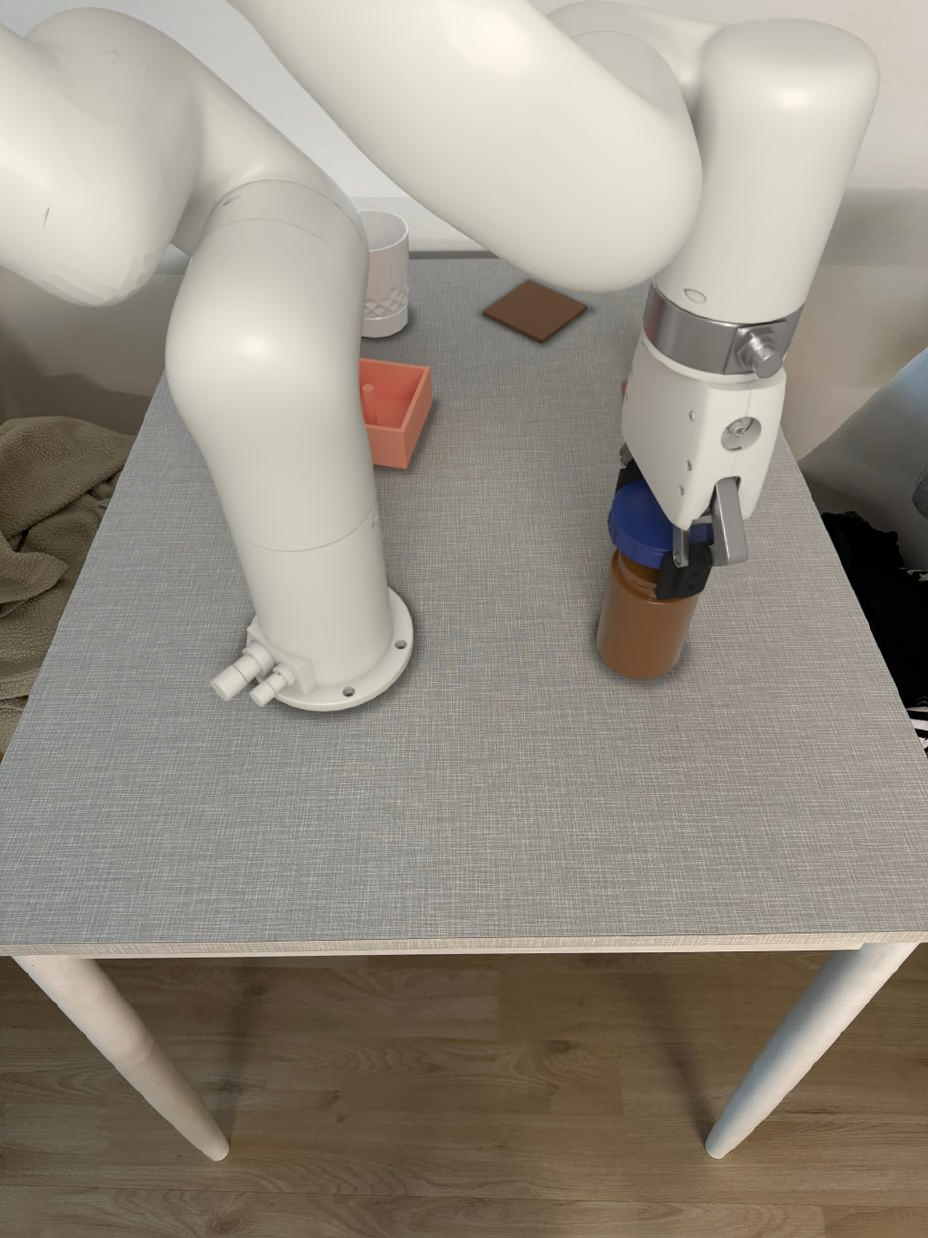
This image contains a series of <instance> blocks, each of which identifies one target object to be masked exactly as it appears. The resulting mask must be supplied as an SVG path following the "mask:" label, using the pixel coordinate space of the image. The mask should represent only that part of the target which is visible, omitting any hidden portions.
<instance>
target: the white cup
mask: <svg viewBox="0 0 928 1238" xmlns="http://www.w3.org/2000/svg"><path fill="white" fill-rule="evenodd" d="M357 211H358V213H359V215H360V217H361V219H362V222H363V224H364V227H365V230H366V234H367V238H368V243H369V255H370V259H369V278H368V285H367V292H366V299H365V306H364V321H363V328H362V335H361V337H363V338H364V337H365V338H372V339H378V338H386V337H390V336H392V335H395V334H396V333H399V332H401V331H402V330H403V329H404V327H405V326H407V324H408V321H409V298H410V237H409V236H410V235H409V232H410V231H409V230H410V228H409V225H408V223H407V221H406V220H405V219H404V218H403V217H402V216H400V215H398V214H396V213H394V212H391V211H388V210H382V209H381V210H380V209H361V210H357Z"/></svg>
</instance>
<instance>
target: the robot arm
mask: <svg viewBox="0 0 928 1238" xmlns="http://www.w3.org/2000/svg"><path fill="white" fill-rule="evenodd" d="M223 1H224V2H225V3H226V4H228V5H229V6H230V7H231V8H232V9H234V10H235V11H236V12H237V13H239V14H240V15H241V16H242V17H243V18H244V19H245V20H246V21H247V22H248V23H249V24H250V25H251V27H252V28H253V29H254V30H255V32H256V33H257V35H258V36H259V37H260V38H261V39H262V41H263V42H264V43H265V45H266V46H267V47H268V49H269V51H271V52H272V54H273V55H274V57H275V58H276V59H277V61H278V62H279V63H280V64H281V65H282V66H283V68H284V69H285V70H286V71H287V73H288V74H289V75H290V76H291V77H292V78H293V80H295V81H296V83H297V84H299V86H300V87H301V88H302V89H303V90H304V91H305V92H306V93H307V95H308V96H310V97H311V99H313V101H314V102H315V103H317V105H318V106H319V107H320V108H321V109H322V111H323V112H324V113H325V114H326V115H327V116H328V118H330V120H332V122H333V123H335V125H336V126H337V127H338V128H339V129H340V130H341V132H342V133H343V134H344V135H345V136H346V137H347V138H348V139H349V140H350V142H352V144H353V145H354V146H355V147H356V148H357V149H358V150H359V151H360V152H361V153H362V154H363V155H364V156H365V157H366V158H367V159H368V160H369V161H370V162H371V163H372V164H373V165H374V166H375V167H376V168H377V169H378V170H379V171H380V172H381V173H383V174H384V175H385V177H387V179H389V180H390V181H391V182H392V183H393V184H395V186H397V187H398V188H399V189H400V190H402V191H403V192H404V193H405V194H407V195H408V196H409V197H410V198H411V199H413V200H414V201H415V202H417V203H418V204H419V205H421V206H422V207H423V208H424V209H426V210H428V211H429V212H430V213H431V214H433V215H434V216H436V217H437V218H439V219H440V220H441V221H444V222H445V223H446V224H448V225H449V226H451V227H452V228H454V229H455V230H457V231H458V232H460V233H461V234H463V235H464V236H466V237H467V238H469V239H470V240H471V241H473V242H474V243H477V244H478V245H479V246H481V247H482V248H483V249H486V250H487V251H488V252H490V253H492V254H493V255H494V256H496V257H498V258H499V259H501V260H503V261H504V262H505V263H507V264H509V265H510V266H512V267H513V268H515V269H517V270H519V271H521V272H522V273H524V274H525V275H528V276H530V277H532V278H534V279H536V280H538V281H540V282H542V283H545V284H548V285H551V286H554V287H556V288H559V289H561V290H565V291H570V292H575V293H580V294H587V295H588V294H590V295H594V294H597V295H601V294H602V295H603V294H604V295H605V294H612V293H616V292H622V291H623V292H624V291H627V290H629V289H631V288H634V287H637V286H639V285H642V284H643V283H645V282H646V281H648V280H650V282H649V287H648V292H647V297H646V302H645V308H644V313H643V317H642V318H643V319H642V323H641V328H640V335H639V337H638V342H637V344H636V347H635V351H634V354H633V359H632V362H631V366H630V370H629V375H628V377H627V379H624V380H622V382H621V395H622V409H621V417H620V428H621V434H622V437H623V439H624V443H623V445H622V446H621V447H620V449H619V451H618V459H619V463H620V465H621V466H622V467H623V468H622V467H621V468H619V471H618V475H617V480H616V486H615V491H614V495H613V498H614V497H615V495H616V494H617V492H618V491H619V490H620V489H621V488H622V487H624V486H625V485H627V484H628V483H630V482H632V481H635V480H638V479H643V478H645V480H646V481H647V483H648V485H649V487H650V489H651V490H652V492H653V494H654V496H655V498H656V499H657V501H658V503H659V504H660V506H661V508H662V510H663V511H664V513H665V514H666V516H667V517H668V519H669V520H670V521H671V522H672V523H673V552H669V553H667V554H666V555H665V557H664V561H663V564H662V568H661V571H660V575H659V578H658V582H657V585H656V589H655V595H656V597H657V599H658V601H665V600H670V599H674V598H680V599H683V598H688V597H692V596H694V595H696V594H699V593H700V594H701V593H703V591H704V590H705V588H706V585H707V583H708V580H709V576H710V574H711V571H712V569H713V568H716V567H728V566H733V565H737V564H742V563H746V562H748V559H749V550H748V545H747V539H746V532H745V527H744V521H746V520H748V519H750V518H751V516H752V515H753V513H754V511H755V508H756V506H757V504H758V502H759V499H760V497H761V492H762V489H763V487H764V485H765V480H766V477H767V474H768V470H769V467H770V465H771V462H772V461H771V460H772V457H773V455H774V454H773V453H774V451H775V446H776V441H777V438H778V434H779V429H780V424H781V420H782V416H783V409H784V402H785V396H786V387H787V376H788V375H787V372H786V370H785V368H784V366H783V364H784V362H785V360H786V357H787V355H788V352H789V349H790V346H791V344H792V343H791V342H792V340H793V338H794V335H795V332H796V329H797V327H798V325H799V321H800V318H801V315H802V313H803V309H804V307H805V304H806V301H807V299H808V298H807V297H808V294H809V292H810V289H811V286H812V284H813V280H814V278H815V275H816V273H817V270H818V267H819V265H820V261H821V259H822V257H823V254H824V250H825V248H826V245H827V242H828V239H829V237H830V233H831V231H832V228H833V226H834V223H835V220H836V218H837V214H838V212H839V208H840V206H841V204H842V200H843V197H844V194H845V193H846V190H847V186H848V183H849V181H850V177H851V175H852V173H853V169H854V168H855V167H854V166H855V164H856V161H857V160H858V159H857V158H858V156H859V153H860V150H861V147H862V145H863V142H864V139H865V137H866V133H867V131H868V127H869V126H870V122H871V119H872V117H873V115H874V110H875V108H876V103H877V101H878V97H879V94H880V89H881V88H880V87H881V69H880V65H879V62H878V58H877V56H876V54H875V53H874V51H873V50H872V49H871V48H870V46H869V45H868V44H867V43H866V42H865V41H864V40H863V39H861V38H860V37H859V36H856V35H855V34H854V33H851V32H850V31H847V30H845V29H842V28H840V27H838V26H835V25H832V24H830V23H826V22H822V21H818V20H813V19H808V18H803V17H790V16H768V17H758V18H752V19H751V18H750V19H746V20H741V21H738V22H734V23H730V22H724V21H716V20H709V19H705V18H699V17H692V16H689V15H684V14H678V13H674V12H669V11H665V10H660V9H656V8H652V7H647V6H643V5H639V4H635V3H628V2H624V1H617V0H577V1H573V2H569V3H566V4H563V5H561V6H559V7H557V8H554V9H552V10H551V11H549V12H546V14H545V13H543V12H542V11H541V10H540V9H539V8H537V7H536V5H534V3H533V2H531V1H530V0H223ZM358 211H359V210H357V208H356V206H355V204H354V203H353V201H352V200H351V199H350V197H349V196H348V194H347V193H346V192H345V191H344V190H343V188H342V187H341V186H340V185H339V184H338V183H337V182H336V181H335V180H334V179H333V178H332V177H331V176H330V175H329V174H328V172H326V171H325V170H324V168H322V167H321V166H320V165H319V164H318V163H316V161H314V160H313V158H311V156H309V155H308V154H306V153H305V152H304V151H303V150H302V149H301V148H300V147H298V146H297V145H296V144H295V143H294V142H293V141H292V140H291V139H290V138H288V137H287V136H286V135H285V134H284V133H283V132H282V131H280V129H278V128H277V127H276V126H275V125H274V124H273V123H272V122H271V121H270V120H268V119H267V118H266V117H265V116H264V115H262V113H261V112H259V111H258V110H257V109H256V108H255V107H254V106H252V105H251V104H250V103H249V102H247V100H245V98H243V97H242V96H241V95H240V94H238V93H237V92H236V91H235V89H233V88H232V87H231V86H230V85H228V83H226V82H225V81H224V80H223V79H222V78H220V77H219V75H217V74H216V73H215V72H214V71H213V70H212V69H211V68H209V67H208V66H207V65H206V64H205V63H204V62H203V61H201V60H200V59H199V58H197V56H195V55H194V54H193V53H192V52H191V51H189V49H187V48H186V47H185V46H183V45H182V44H180V43H179V42H178V41H177V40H175V39H174V38H172V37H171V36H169V35H168V34H166V33H165V32H163V31H162V30H159V29H158V28H156V27H154V26H152V25H151V24H149V23H147V22H145V21H143V20H141V19H138V18H136V17H134V16H132V15H129V14H126V13H124V12H120V11H117V10H112V9H108V8H102V7H92V6H91V7H89V6H88V7H73V8H69V9H64V10H62V11H59V12H57V13H54V14H53V15H51V16H48V17H47V18H45V19H43V20H42V21H40V22H38V23H37V24H36V25H35V26H34V27H33V28H31V30H30V31H28V32H27V34H26V35H25V36H24V37H23V36H21V35H19V34H18V33H16V32H15V31H13V30H12V29H10V28H9V27H7V26H6V25H5V24H3V23H2V22H0V266H1V268H4V269H5V270H6V271H8V272H10V273H11V274H13V275H15V276H16V277H18V279H21V280H22V281H25V282H26V283H28V284H29V285H31V286H33V287H34V288H36V289H38V290H39V291H42V292H43V293H45V294H46V295H49V296H50V297H53V298H55V299H57V300H59V301H62V302H66V303H68V304H71V305H74V306H77V307H84V308H89V309H90V308H91V309H92V308H94V309H96V308H110V307H113V306H117V305H118V304H121V303H125V301H127V300H129V299H131V298H132V297H134V295H135V294H137V293H138V292H139V291H140V290H141V289H143V288H144V287H145V285H146V284H147V283H148V282H149V281H150V279H151V278H152V277H153V275H155V272H156V271H157V269H158V267H159V265H160V263H161V261H162V260H163V258H164V255H165V254H166V252H167V250H168V248H169V246H170V244H171V245H173V246H174V247H176V248H177V249H179V250H180V251H181V252H183V253H184V254H185V255H187V256H188V257H190V260H189V262H188V264H187V267H186V269H185V273H184V275H183V278H182V281H181V284H180V286H179V289H178V292H177V294H176V297H175V301H174V303H173V307H172V310H171V313H170V317H169V321H168V326H167V331H166V337H165V346H164V366H165V367H164V368H165V376H166V382H167V387H168V391H169V393H170V396H171V400H172V401H173V404H174V406H175V408H176V410H177V413H178V415H179V416H180V418H181V420H182V421H183V423H184V425H185V427H186V428H187V430H188V431H189V434H190V435H191V437H192V439H193V440H194V442H195V443H196V446H197V447H198V449H199V452H200V453H201V456H202V458H203V460H204V462H205V464H206V466H207V467H206V468H207V469H208V472H209V474H210V477H211V480H212V482H213V486H214V488H215V491H216V494H217V498H218V500H219V504H220V507H221V509H222V513H223V516H224V518H225V522H226V524H227V526H228V527H227V528H228V530H229V533H230V536H231V540H232V542H233V545H234V549H235V551H236V554H237V559H238V561H239V564H240V568H241V571H242V574H243V577H244V580H245V583H246V586H247V589H248V593H249V596H250V599H251V603H252V605H253V609H254V611H255V614H254V617H253V618H252V620H251V622H250V624H249V625H248V626H247V627H246V632H247V633H246V634H247V635H246V644H245V647H244V648H243V649H241V654H242V655H241V657H239V658H238V659H237V660H236V661H235V662H233V663H232V664H229V665H227V666H226V667H225V668H224V669H223V670H221V671H220V672H219V673H218V674H216V675H215V676H214V677H213V678H212V679H210V681H209V684H210V686H211V688H212V689H213V690H214V691H215V693H216V694H217V695H218V696H219V698H221V699H222V700H223V701H225V702H230V701H231V700H232V699H234V698H235V696H237V695H238V694H239V693H240V692H242V691H243V690H244V689H246V687H248V684H249V683H251V682H252V681H253V680H254V679H256V681H257V683H258V684H257V685H256V686H255V687H254V688H252V690H250V691H249V692H248V694H249V696H250V699H252V701H253V702H254V703H255V704H256V705H257V706H259V707H260V708H263V707H265V706H266V705H267V704H268V703H270V702H271V700H272V699H274V698H275V699H276V700H277V701H279V702H282V703H284V704H286V705H288V706H290V707H293V708H297V709H301V710H305V711H310V712H312V711H313V712H325V713H326V712H334V711H343V710H346V709H350V708H354V707H357V706H360V705H362V704H365V703H367V702H369V701H371V700H373V699H375V698H377V696H379V695H381V694H383V693H384V692H385V691H387V690H388V689H389V688H390V687H391V686H392V685H394V683H395V682H397V680H398V679H399V678H400V677H401V675H402V674H403V673H404V671H405V670H406V669H407V666H408V663H409V662H410V659H411V657H412V653H413V649H414V643H415V641H414V640H415V639H414V626H413V620H412V615H411V614H410V611H409V609H408V606H407V605H406V603H405V602H404V600H403V599H402V598H401V596H399V594H398V593H396V591H394V590H393V589H392V588H391V587H389V586H388V577H387V569H386V568H387V567H386V562H385V561H386V560H385V553H384V546H383V545H384V543H383V535H382V528H381V519H380V510H379V501H378V493H377V485H376V480H375V473H374V464H373V463H372V457H371V450H370V444H369V439H368V435H367V430H366V426H365V423H364V419H363V414H362V409H361V402H360V390H359V358H360V354H361V353H360V352H361V342H362V336H361V335H362V328H363V321H364V306H365V299H366V292H367V285H368V278H369V259H370V255H369V243H368V238H367V234H366V230H365V227H364V224H363V222H362V219H361V217H360V215H359V213H358ZM708 506H709V507H708ZM704 524H707V541H702V542H697V543H692V544H690V527H693V526H699V525H704Z"/></svg>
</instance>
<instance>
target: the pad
mask: <svg viewBox="0 0 928 1238" xmlns="http://www.w3.org/2000/svg"><path fill="white" fill-rule="evenodd" d="M586 310H588V305H587V304H584V303H582V302H580V301H578V300H575V299H573V298H571V297H569V296H567V295H564V294H562V293H560V292H557V291H555V290H553V289H550V288H549V287H546V286H544V285H542V284H539V283H537V282H535V281H533V280H530V279H528V280H526V281H525V282H523V283H522V284H520V285H519V286H518V287H516V288H515V289H513V290H512V291H510V292H509V293H508V294H506V295H504V296H503V297H501V298H500V299H499V300H497V301H495V302H494V303H493V304H491V305H490V306H489V307H487V308H486V309H484V310H483V311H482V315H483V316H485V317H487V318H489V319H492V320H494V321H495V322H497V323H500V324H502V325H504V326H506V327H508V328H510V329H513V330H514V331H516V332H519V333H520V334H523V335H525V336H526V337H529V338H531V339H533V340H535V341H537V342H539V343H541V344H543V343H545V341H547V340H549V338H551V337H552V336H553V335H555V334H556V333H558V332H559V331H560V330H561V329H563V328H564V327H565V326H567V325H568V324H569V323H571V322H572V321H574V320H575V319H576V318H577V317H579V316H580V315H581V314H583V313H584V312H586Z"/></svg>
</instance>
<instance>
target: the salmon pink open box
mask: <svg viewBox="0 0 928 1238" xmlns="http://www.w3.org/2000/svg"><path fill="white" fill-rule="evenodd" d="M431 371H432V370H431V366H425V365H417V364H411V363H403V362H395V361H388V360H379V359H373V358H364V357H359V390H360V402H361V409H362V414H363V419H364V423H365V426H366V430H367V435H368V439H369V444H370V450H371V457H372V463H373V465H377V466H383V467H390V468H394V469H395V468H396V469H402V470H407V469H408V466H409V464H410V462H411V459H412V457H413V453H414V451H415V449H416V446H417V443H418V440H419V438H420V436H421V433H422V431H423V428H424V427H425V426H424V425H425V423H426V420H427V418H428V415H429V413H430V410H431V407H432V405H433V394H432V393H433V392H432V372H431Z"/></svg>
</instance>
